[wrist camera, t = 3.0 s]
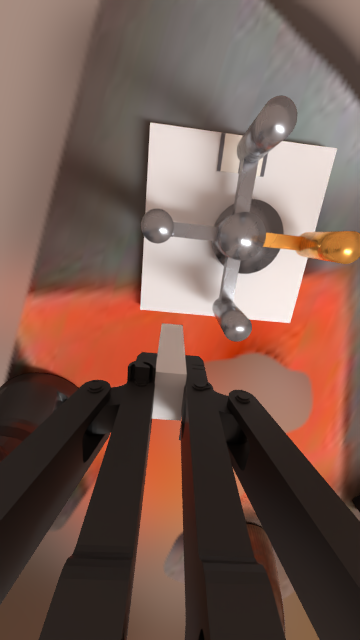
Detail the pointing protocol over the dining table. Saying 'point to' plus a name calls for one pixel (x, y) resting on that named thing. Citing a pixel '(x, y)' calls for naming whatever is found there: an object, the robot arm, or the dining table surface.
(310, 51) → the dining table surface
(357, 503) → the electronic device
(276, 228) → the silver metal piece
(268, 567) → the lamp
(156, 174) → the stand plate
